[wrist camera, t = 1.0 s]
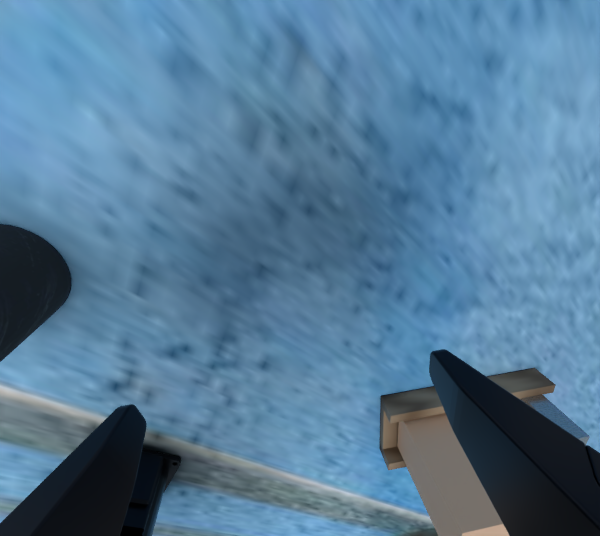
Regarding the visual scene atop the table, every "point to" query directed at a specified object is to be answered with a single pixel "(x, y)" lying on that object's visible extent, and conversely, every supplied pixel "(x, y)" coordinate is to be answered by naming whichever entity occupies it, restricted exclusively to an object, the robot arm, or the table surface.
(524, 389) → the rail
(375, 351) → the table surface
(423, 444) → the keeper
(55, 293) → the travel mug
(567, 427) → the grey square block
